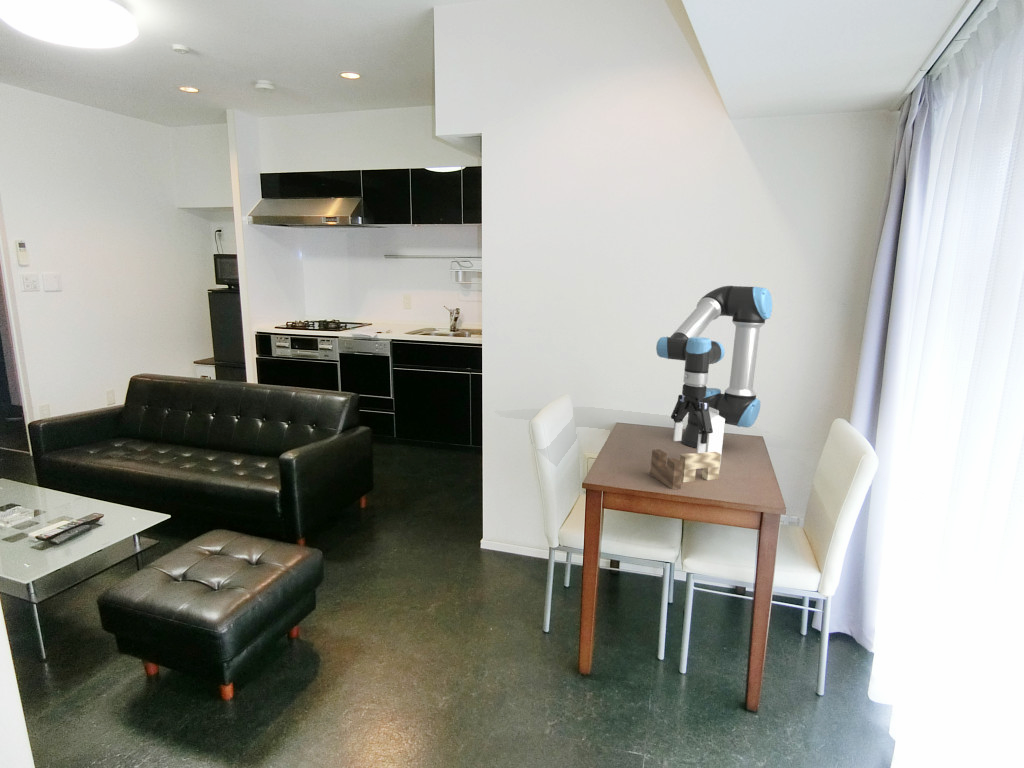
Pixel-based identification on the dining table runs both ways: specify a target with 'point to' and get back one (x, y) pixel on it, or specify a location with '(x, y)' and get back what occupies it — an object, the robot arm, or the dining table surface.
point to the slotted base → (666, 469)
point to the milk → (715, 432)
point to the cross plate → (700, 465)
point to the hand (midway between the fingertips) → (688, 446)
